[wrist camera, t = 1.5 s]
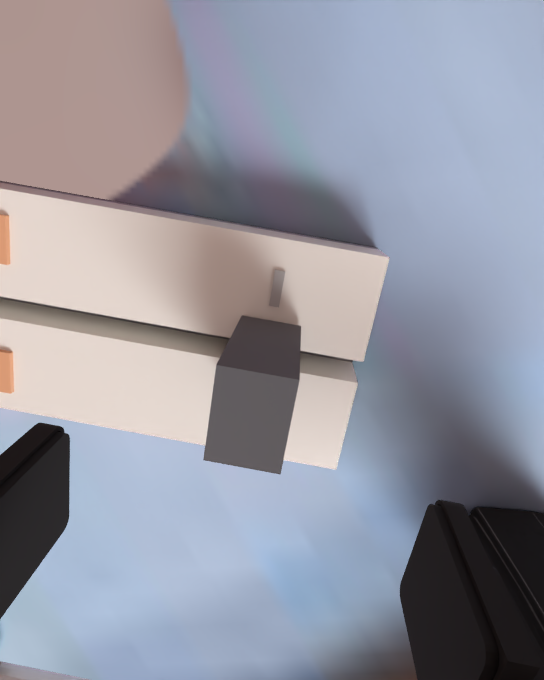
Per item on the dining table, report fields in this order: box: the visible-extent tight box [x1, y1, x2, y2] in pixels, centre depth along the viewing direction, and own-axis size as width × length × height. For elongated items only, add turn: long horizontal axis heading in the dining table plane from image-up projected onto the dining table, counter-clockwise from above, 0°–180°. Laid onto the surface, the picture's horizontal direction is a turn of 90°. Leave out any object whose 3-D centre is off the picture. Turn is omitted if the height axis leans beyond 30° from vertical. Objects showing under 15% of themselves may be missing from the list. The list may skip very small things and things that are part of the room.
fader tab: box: [204, 315, 301, 474], centre depth 21 cm, size 4×3×10 cm
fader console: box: [0, 181, 390, 470], centre depth 25 cm, size 12×26×4 cm, turn 81°
